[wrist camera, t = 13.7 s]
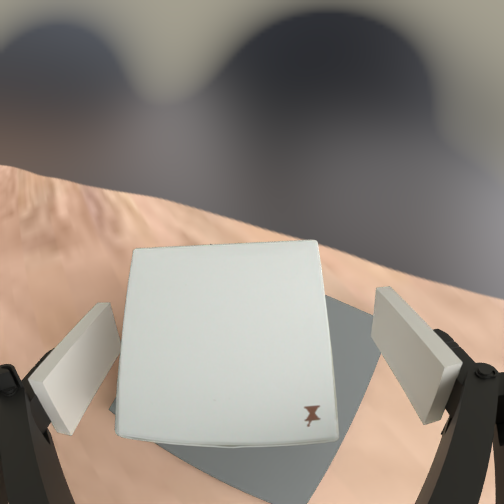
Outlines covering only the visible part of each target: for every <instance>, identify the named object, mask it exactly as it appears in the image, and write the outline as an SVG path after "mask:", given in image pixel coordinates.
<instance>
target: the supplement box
mask: <svg viewBox="0 0 504 504" xmlns="http://www.w3.org/2000/svg"><path fill="white" fill-rule="evenodd" d="M115 432H116V434H117V435H118V436H120V437H123V438H128V439H134V440H141V441H148V442H156V443H165V444H176V445H188V446H203V447H220V448H242V447H273V446H292V445H305V444H315V443H326V442H335V441H337V440H338V439H339V426H338V412H337V400H336V388H335V377H334V367H333V358H332V348H331V340H330V331H329V323H328V315H327V308H326V300H325V292H324V284H323V276H322V269H321V261H320V254H319V248H318V243H317V241H316V240H299V241H279V242H255V243H234V244H215V245H195V246H174V247H154V248H136V249H134V250H133V255H132V261H131V267H130V274H129V281H128V288H127V295H126V303H125V311H124V320H123V330H122V339H121V348H120V357H119V368H118V379H117V393H116V414H115Z"/></svg>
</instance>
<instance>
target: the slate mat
mask: <svg viewBox="0 0 504 504" xmlns="http://www.w3.org/2000/svg"><path fill="white" fill-rule="evenodd" d="M210 245H212V244H210ZM325 300H326V308H327V315H328V323H329V331H330V340H331V348H332V358H333V367H334V377H335V388H336V400H337V412H338V426H339V439H338V440H337V441H335V442H326V443H315V444H305V445H292V446H273V447H242V448H220V447H203V446H188V445H176V444H165V443H156V442H154V443H156V444H157V445H159V446H160V447H162V448H164V449H165V450H167V451H168V452H170V453H172V454H173V455H175V456H176V457H178V458H180V459H182V460H183V461H185V462H187V463H188V464H190V465H192V466H194V467H195V468H197V469H199V470H201V471H203V472H205V473H207V474H208V475H210V476H212V477H214V478H216V479H218V480H220V481H222V482H224V483H226V484H228V485H230V486H232V487H234V488H237V489H239V490H241V491H243V492H245V493H248V494H250V495H252V496H254V497H257V498H259V499H262V500H264V501H266V502H269V503H271V504H307V503H308V501H309V500H310V498H311V496H312V495H313V493H314V492H315V490H316V488H317V487H318V485H319V483H320V482H321V480H322V478H323V476H324V475H325V473H326V471H327V469H328V468H329V466H330V464H331V462H332V460H333V458H334V457H335V455H336V453H337V451H338V449H339V447H340V445H341V443H342V441H343V439H344V437H345V435H346V433H347V431H348V429H349V427H350V425H351V423H352V421H353V419H354V417H355V414H356V412H357V410H358V408H359V406H360V403H361V401H362V399H363V397H364V394H365V392H366V390H367V387H368V385H369V382H370V380H371V377H372V375H373V372H374V370H375V367H376V365H377V362H378V360H379V357H380V354H381V352H380V350H379V349H378V347H377V345H376V344H375V342H374V341H373V339H372V337H371V331H372V323H373V315H370V314H368V313H366V312H364V311H361V310H359V309H357V308H354V307H352V306H350V305H347V304H345V303H343V302H341V301H338V300H336V299H334V298H331V297H329V296H327V295H325ZM109 410H110V411H111V412H112V413H113V414H116V398H115V400H114V401H113V403H112V405H111V407H110V408H109Z"/></svg>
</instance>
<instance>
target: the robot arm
mask: <svg viewBox="0 0 504 504" xmlns="http://www.w3.org/2000/svg"><path fill="white" fill-rule="evenodd" d="M371 337H372V339H373V341H374V342H375V344H376V345H377V347H378V349H379V350H380V352H381V353H382V355H383V357H384V358H385V360H386V362H387V363H388V365H389V367H390V368H391V370H392V372H393V373H394V375H395V377H396V378H397V380H398V382H399V383H400V385H401V387H402V388H403V390H404V392H405V393H406V395H407V397H408V399H409V400H410V402H411V404H412V406H413V407H414V409H415V411H416V413H417V414H418V416H419V418H420V420H421V421H422V423H423V425H426V424H429V423H432V422H435V421H439V420H441V417H442V415H443V413H444V410H445V409H446V410H447V412H448V413H449V415H450V416H449V418H448V420H447V422H446V424H445V426H444V429H443V431H442V433H441V435H442V438H441V441H440V444H439V447H438V450H437V453H436V455H435V458H434V461H433V463H432V466H431V468H430V471H429V473H428V476H427V478H426V480H425V483H424V485H423V487H422V489H421V492H420V494H419V496H418V498H417V500H416V502H415V504H478V503H479V499H480V496H481V492H482V489H483V485H484V481H485V477H486V472H487V468H488V463H489V458H490V453H491V448H492V442H493V450H494V463H495V484H496V504H504V372H501V373H498V371H497V370H496V369H495V368H494V367H493V366H491V365H489V364H486V363H475V362H474V361H473V360H472V359H471V358H470V357H469V356H468V355H467V353H466V352H465V351H464V350H463V349H462V348H461V347H459V345H458V344H457V343H456V342H454V340H453V339H452V338H451V337H450V336H449V335H448V334H447V333H445V332H443V331H441V330H440V329H434V330H432V329H431V328H430V327H429V325H428V324H427V323H426V322H425V321H424V320H423V319H422V318H421V317H420V316H419V315H418V314H417V313H416V312H415V311H414V310H413V309H412V308H411V307H410V306H409V305H408V304H407V303H406V302H405V301H404V300H403V299H402V298H401V297H400V296H399V295H398V294H397V293H396V292H395V291H394V290H393V289H392V288H391V287H390V286H388V287H379V288H376V295H375V305H374V314H373V323H372V331H371ZM120 348H121V341H120V338H119V334H118V331H117V327H116V323H115V320H114V316H113V312H112V308H111V304H110V303H97V304H96V305H95V306H94V307H93V308H92V309H91V310H90V311H89V312H88V313H87V314H86V315H85V316H84V317H83V318H82V319H81V320H80V321H79V323H78V324H77V325H76V326H75V327H74V328H73V329H72V330H71V331H70V332H69V333H68V334H67V335H66V336H65V338H64V339H63V340H62V341H61V342H60V343H59V344H58V345H57V346H56V347H55V348H53V349H52V350H50V351H49V352H47V353H46V354H45V355H44V356H43V357H42V358H41V359H40V361H38V363H37V364H36V365H35V367H33V368H32V369H31V371H30V372H29V373H28V374H27V375H26V376H25V377H24V379H23V380H22V381H21V380H20V378H19V376H18V374H17V372H16V369H15V367H14V366H13V365H11V364H4V365H0V504H8V502H9V504H75V502H74V500H73V497H72V495H71V492H70V490H69V487H68V485H67V482H66V479H65V477H64V474H63V471H62V468H61V465H60V462H59V459H58V456H57V453H56V450H55V447H54V443H53V440H52V436H51V433H50V432H49V430H48V428H47V427H48V426H49V424H50V422H51V423H52V425H53V426H54V428H55V430H56V431H57V432H59V433H62V434H66V435H70V436H72V434H73V432H74V431H75V429H76V427H77V425H78V423H79V422H80V420H81V418H82V416H83V414H84V413H85V411H86V409H87V407H88V406H89V404H90V402H91V400H92V399H93V397H94V395H95V394H96V392H97V390H98V388H99V387H100V385H101V383H102V382H103V380H104V378H105V377H106V375H107V373H108V372H109V370H110V368H111V367H112V365H113V363H114V362H115V360H116V358H117V357H118V355H119V354H120Z"/></svg>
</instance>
